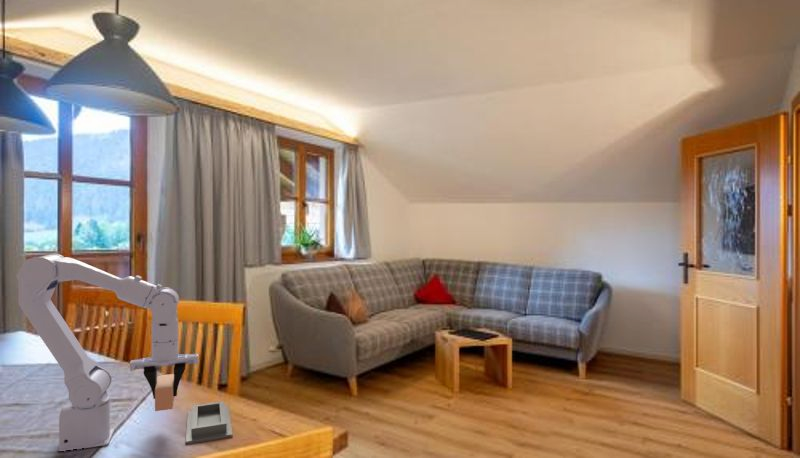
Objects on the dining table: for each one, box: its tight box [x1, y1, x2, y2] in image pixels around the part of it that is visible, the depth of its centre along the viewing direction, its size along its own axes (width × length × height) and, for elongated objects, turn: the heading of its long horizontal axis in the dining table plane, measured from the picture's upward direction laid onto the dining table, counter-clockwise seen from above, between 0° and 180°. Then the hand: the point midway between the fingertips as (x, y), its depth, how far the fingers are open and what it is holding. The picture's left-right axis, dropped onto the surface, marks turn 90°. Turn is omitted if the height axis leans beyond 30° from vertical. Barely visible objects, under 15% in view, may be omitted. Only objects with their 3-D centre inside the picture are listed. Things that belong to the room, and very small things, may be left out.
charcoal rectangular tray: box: [185, 400, 233, 445], centre depth 117 cm, size 10×18×3 cm, turn 23°
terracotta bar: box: [154, 373, 175, 412], centre depth 113 cm, size 4×10×5 cm, turn 23°
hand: (165, 396), depth 113 cm, fingers closed on terracotta bar, 4 cm apart
